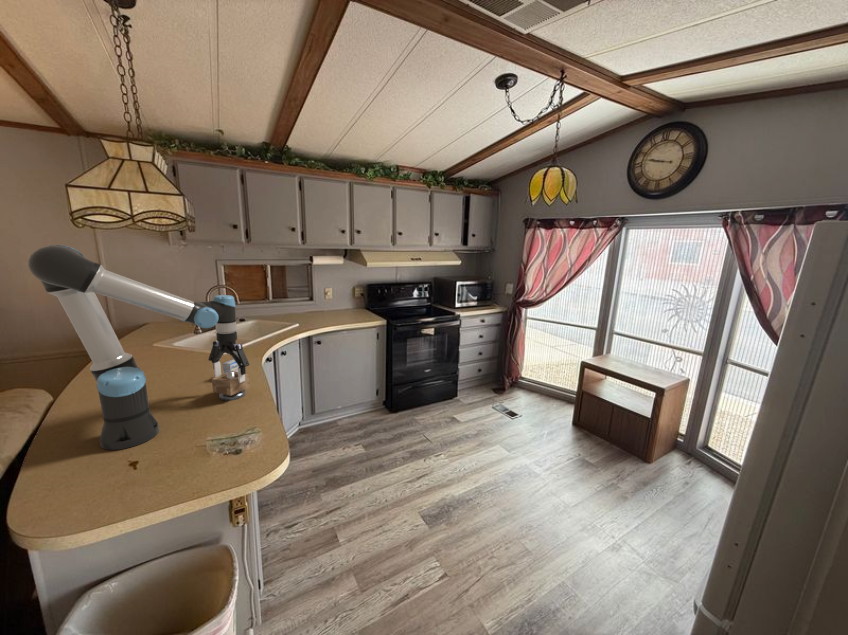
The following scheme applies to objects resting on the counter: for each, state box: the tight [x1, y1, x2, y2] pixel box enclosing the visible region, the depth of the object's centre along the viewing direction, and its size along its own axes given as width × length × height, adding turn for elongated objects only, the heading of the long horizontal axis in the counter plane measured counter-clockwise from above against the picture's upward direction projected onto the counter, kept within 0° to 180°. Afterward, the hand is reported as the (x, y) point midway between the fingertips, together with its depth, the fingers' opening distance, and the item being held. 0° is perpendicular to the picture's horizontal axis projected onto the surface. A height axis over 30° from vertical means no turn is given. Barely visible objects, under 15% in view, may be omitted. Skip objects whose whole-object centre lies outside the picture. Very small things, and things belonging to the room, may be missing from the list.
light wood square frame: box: [211, 371, 251, 396], centre depth 145 cm, size 10×10×6 cm
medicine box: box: [222, 358, 242, 375], centre depth 165 cm, size 8×4×9 cm, turn 168°
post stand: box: [218, 371, 246, 402], centre depth 145 cm, size 10×10×11 cm
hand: (229, 379), depth 144 cm, fingers open, 13 cm apart
